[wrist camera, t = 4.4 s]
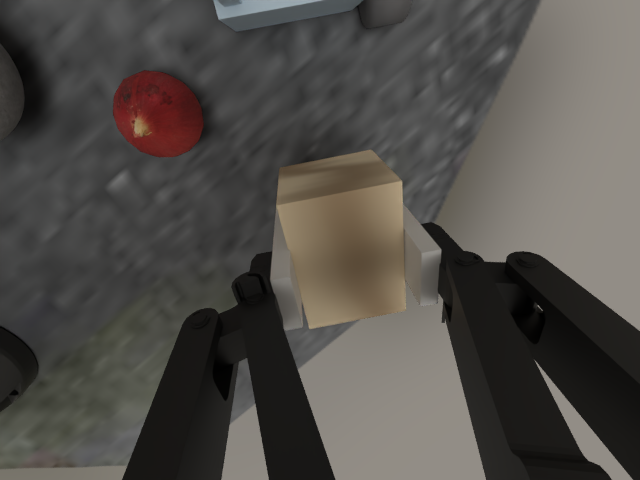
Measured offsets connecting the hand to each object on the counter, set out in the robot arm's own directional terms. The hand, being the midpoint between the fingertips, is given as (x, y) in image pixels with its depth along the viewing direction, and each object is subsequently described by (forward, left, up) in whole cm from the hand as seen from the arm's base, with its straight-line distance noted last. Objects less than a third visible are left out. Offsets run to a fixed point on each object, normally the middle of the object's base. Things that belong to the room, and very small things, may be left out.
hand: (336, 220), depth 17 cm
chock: (0, 0, 0) cm, 0 cm away
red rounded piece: (-11, +6, -13) cm, 18 cm away
